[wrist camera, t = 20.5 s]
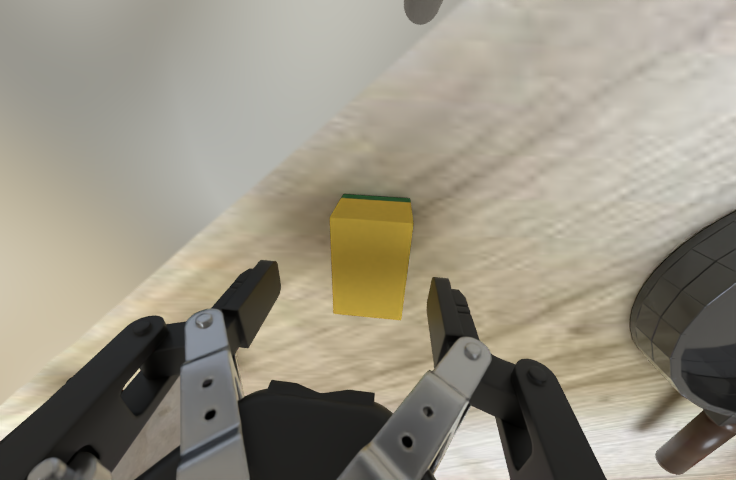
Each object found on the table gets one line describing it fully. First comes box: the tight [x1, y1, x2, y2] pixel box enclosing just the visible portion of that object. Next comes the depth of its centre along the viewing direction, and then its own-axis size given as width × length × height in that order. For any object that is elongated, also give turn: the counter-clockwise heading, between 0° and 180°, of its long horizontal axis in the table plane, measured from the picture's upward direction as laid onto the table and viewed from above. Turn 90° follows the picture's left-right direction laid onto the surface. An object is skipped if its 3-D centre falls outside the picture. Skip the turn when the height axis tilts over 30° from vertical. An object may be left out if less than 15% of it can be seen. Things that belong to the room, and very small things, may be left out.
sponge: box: [330, 194, 413, 320], centre depth 17 cm, size 7×4×4 cm, turn 178°
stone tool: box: [111, 376, 180, 480], centre depth 20 cm, size 9×3×15 cm, turn 9°
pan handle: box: [655, 409, 736, 475], centre depth 22 cm, size 9×2×2 cm, turn 178°
